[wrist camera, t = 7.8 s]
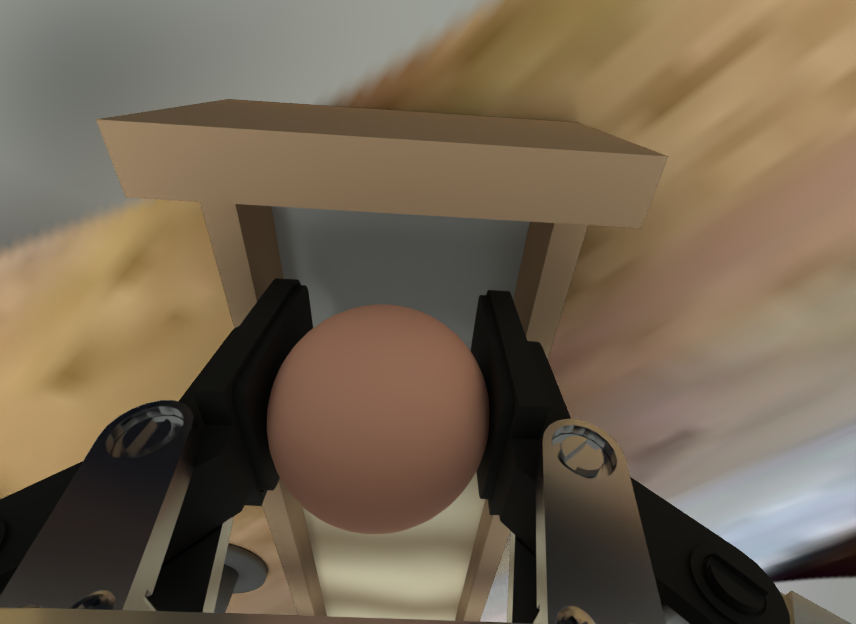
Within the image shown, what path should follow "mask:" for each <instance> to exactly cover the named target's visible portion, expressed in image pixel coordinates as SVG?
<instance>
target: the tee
mask: <svg viewBox="0 0 856 624" xmlns="http://www.w3.org/2000/svg"><path fill="white" fill-rule="evenodd" d="M267 571H268V570H267V566H266V564H265V563H264V562H263V561H262V560H261V559H260V558H259V557H258V556H256V555H255V554H253V553H251V552H249V551H247V550H245V549H242V548H240V547H237V546H233V545H229V544H228V547H227V552H226V557H225V562H224V566H223V571H222V576H221V581H220V585H219V590H218V595H217V600H216V604H215V609H214V613H225V611H226V609H227V606H228V604H229V601H230V598H231V596H232V594H233V593H244V592H249V591H252V590H255V589H257V588H259V587H260V586H262V585H263V583H264V581H265V579H266V576H267Z"/></svg>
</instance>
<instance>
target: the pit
mask: <svg viewBox="0 0 856 624" xmlns="http://www.w3.org/2000/svg"><path fill="white" fill-rule="evenodd" d="M96 121H97V123H98V126H99V129H100V131H101V134H102V137H103V139H104V142H105V145H106V147H107V150H108V152H109V155H110V158H111V160H112V163H113V166H114V168H115V171H116V173H117V176H118V179H119V181H120V183H121V187H122V189H123V192H124V194H125V197H127V198H144V199H161V200H178V201H194V202H200V204H201V208H202V211H203V215H204V219H205V222H206V226H207V230H208V233H209V237H210V241H211V244H212V248H213V252H214V255H215V259H216V263H217V266H218V270H219V274H220V277H221V281H222V285H223V288H224V292H225V296H226V299H227V303H228V307H229V310H230V314H231V317H232V321H233V325H234V328H236V327H238V326H239V325H240V324H241V323H242V321H243V320H244V319H245V317H246V316H247V315H248V313H249V312H250V311H251V309H252V308H253V307H254V305H255V304H256V303H257V301H258V300H259V299H260V297H261V296H262V295H263V293H264V292H265V291H266V289H267V288H268V287H269V285H270V284H271V283H272V281H273V280H274V279H275V278H280V279H298V280H299V281H300V283H301V285H306V286H307V288H308V292H309V300H310V307H311V315H312V322H313V328H314V327H316V326H317V325H319V324H320V323H321V322H323V321H324V320H326V319H328V318H330V317H332V316H334V315H336V314H338V313H341V312H344V311H346V310H349V309H352V308H356V307H360V306H366V305H375V304H388V305H397V306H403V307H408V308H412V309H415V310H418V311H421V312H423V313H425V314H428V315H430V316H432V317H434V318H435V319H437V320H438V321H440V322H442V323H443V324H444V325H446V326H447V327H448V328H450V329H451V330H452V331H453V332H454V333H456V334H457V335H458V337H459V338H460V339H461V340H462V341H463V342H464V343H465V345H466V346H467V347H468V348H469V350H471V344H472V337H473V331H474V324H475V318H476V311H477V305H478V299H479V296H480V295H486V294H487V291H488V290H499V291H510V293H511V295H512V298H513V301H514V304H515V307H516V310H517V313H518V315H519V318H520V321H521V324H522V327H523V330H524V332H525V335H526V338H527V341H538V342H539V343H541V345H542V347H543V349H544V352H545V354H546V357H547V360H548V356H549V353H550V350H551V346H552V343H553V340H554V336H555V333H556V330H557V326H558V323H559V320H560V317H561V313H562V310H563V307H564V303H565V300H566V297H567V293H568V290H569V287H570V283H571V280H572V277H573V273H574V270H575V267H576V263H577V260H578V257H579V254H580V250H581V247H582V244H583V240H584V237H585V234H586V230H587V227H588V225H596V226H612V227H629V228H641V227H642V224H643V221H644V219H645V216H646V214H647V211H648V208H649V206H650V203H651V201H652V198H653V195H654V193H655V190H656V187H657V185H658V182H659V180H660V177H661V174H662V172H663V169H664V167H665V164H666V161H667V159H668V156H666V155H663V154H660V153H657V152H655V151H652V150H649V149H647V148H644V147H641V146H639V145H636V144H633V143H631V142H628V141H625V140H623V139H620V138H617V137H615V136H612V135H609V134H607V133H604V132H601V131H599V130H596V129H593V128H591V127H588V126H585V125H583V124H580V123H577V122H563V121H548V120H533V119H518V118H503V117H488V116H473V115H458V114H443V113H428V112H413V111H398V110H383V109H368V108H353V107H338V106H323V105H308V104H293V103H278V102H262V101H248V100H233V99H226V100H219V101H214V102H206V103H200V104H193V105H188V106H180V107H174V108H167V109H161V110H154V111H148V112H141V113H135V114H129V115H122V116H115V117H109V118H102V119H97V120H96Z"/></svg>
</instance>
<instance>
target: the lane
mask: <svg viewBox="0 0 856 624" xmlns="http://www.w3.org/2000/svg"><path fill="white" fill-rule="evenodd" d="M262 506H263V509H264V512H265V515H266V518H267V521H268V524H269V527H270V530H271V533H272V536H273V539H274V542H275V545H276V548H277V552H278V555H279V558H280V561H281V564H282V567H283V570H284V573H285V576H286V579H287V582H288V585H289V588H290V591H291V594H292V598H293V601H294V604H295V607H296V610H297V613H298V615H299V616H330V617H361V618H391V619H421V620H448V621H475V622H479V621H480V618H481V615H482V613H483V610H484V607H485V604H486V601H487V598H488V595H489V592H490V589H491V586H492V583H493V580H494V578H495V575H496V572H497V569H498V566H499V563H500V560H501V557H502V554H503V551H504V548H505V545H506V542H507V540H508V537H509V534H510V530H509V529H508V528H507V527H506V526H505V525H504V524H503V523H502V522H501V521H500V517H499V515H490V514H489V506H488V499H480V497H479V491H478V482H477V473H475V475H474V476H473V478H472V480H471V481H470V483H469V484H468V485H467V487H466V488H465V490H464V491H463V492H462V493H461V495H460V496H459V497H458V498H457V499H456V500H455V501H454V502H453V503H452V504H451V505H450V506H448V507H447V508H446V509H445V510H443V511H442V512H441V513H439V514H438V515H436V516H435V517H433V518H432V519H430V520H428V521H427V522H425V523H422V524H420V525H417V526H415V527H412V528H410V529H407V530H404V531H400V532H395V533H389V534H362V533H355V532H350V531H346V530H343V529H339V528H337V527H334V526H331V525H329V524H327V523H325V522H324V521H322V520H320V519H319V518H317V517H316V516H314V515H313V514H311V513H310V512H308V511H307V510H306V509H305V508H304V507H302V506H301V505H300V504H299V503H298V501H297V500H296V499H295V498H294V497H293V496H292V495H291V494H290V492H289V491H288V490H287V488H286V486H285V485H284V483H283V481H282V480H281V478H280V479H279V481H278V484H277V486H276V488H275V489H274V490H273V491H271V490H268V491H267V493H266V496H265V498H264V501H263V503H262Z"/></svg>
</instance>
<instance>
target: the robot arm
mask: <svg viewBox="0 0 856 624" xmlns="http://www.w3.org/2000/svg"><path fill="white" fill-rule="evenodd" d="M312 329H313V322H312V315H311V307H310V300H309V292H308V288H307V286H306V285H301V283H300V281H299V280H298V279H280V278H275V279H274V280H273V281H272V283H271V284H270V285H269V287H268V288H267V289H266V291H265V292H264V293H263V295H262V296H261V297H260V299H259V300H258V301H257V303H256V304H255V305H254V307H253V308H252V309H251V311H250V312H249V313H248V315H247V316H246V317H245V319H244V320H243V321H242V323H241V324H240V325H239V326H238V327H236V328H235V329H234V330H232V332H231V333H230V334H229V336H228V337H227V338H226V340H225V341H224V342H223V344H222V345H221V346H220V347H219V349H218V350H217V351H216V353H215V354H214V355H213V357H212V358H211V359H210V361H209V362H208V363H207V365H206V366H205V367H204V369H203V370H202V371H201V373H200V374H199V375H198V376H197V378H196V379H195V380H194V382H193V383H192V384H191V386H190V387H189V388H188V390H187V391H186V392H185V394H184V395H183V396H182V398H181V399H180V400H179V402H178V401H174V400H161V401H156V402H151V403H147V404H144V405H141V406H138V407H136V408H133V409H131V410H129V411H128V412H126V413H124V414H122V415H120V416H119V417H118V418H116V419H115V420H114V421H113V422H111V423H110V424H109V425H108V426H107V427H106V428H105V429H104V430H103V431H102V433H101V434H100V435H99V436H98V438H97V439H96V441H95V443H94V444H93V446H92V448H91V449H90V451H89V452H88V454H87V456H86V457H85V459H84V461H82V462H80V463H78V464H76V465H74V466H71V467H69V468H67V469H65V470H63V471H61V472H59V473H56V474H54V475H52V476H50V477H48V478H46V479H43V480H41V481H39V482H37V483H35V484H33V485H31V486H28V487H26V488H24V489H22V490H20V491H18V492H15V493H13V494H11V495H9V496H7V497H5V498H3V499H0V624H851V623H849V622H847V621H846V620H844V619H842V618H840V617H838V616H836V615H835V614H833V613H831V612H829V611H827V610H826V609H824V608H822V607H820V606H819V605H817V604H815V603H813V602H812V601H810V600H808V599H806V598H804V597H802V596H801V595H799V594H797V593H795V592H794V591H790V592H789V593H788V594H786V595H785V594H783V593H781V592H779V590H778V589H777V587H776V586H775V584H774V583H773V581H772V580H771V578H770V577H769V576H768V575H767V574H766V573H765V572H764V571H763V570H762V569H761V568H760V567H759V565H758V564H757V563H755V562H754V561H753V560H752V559H750V558H749V557H748V556H747V555H745V554H744V553H743V552H742V551H740V550H739V549H737V548H736V547H734V546H733V545H731V544H730V543H728V542H727V541H725V540H724V539H722V538H721V537H719V536H718V535H716V534H715V533H713V532H712V531H710V530H709V529H707V528H706V527H704V526H703V525H701V524H700V523H698V522H697V521H695V520H694V519H692V518H691V517H689V516H688V515H686V514H685V513H683V512H682V511H680V510H679V509H677V508H676V507H674V506H673V505H671V504H670V503H668V502H667V501H666V500H664V499H663V498H661V497H660V496H658V495H657V494H655V493H654V492H652V491H651V490H649V489H648V488H646V487H645V486H643V485H642V484H640V483H639V482H637V481H636V480H634V479H633V478H631V477H630V474H629V470H628V466H627V462H626V459H625V456H624V454H623V452H622V449H621V448H620V446H619V445H618V444H617V443H616V441H615V440H614V439H613V438H612V437H611V436H610V435H608V434H607V433H606V432H605V431H604V430H602V429H600V428H598V427H596V426H595V425H593V424H591V423H588V422H585V421H581V420H576V419H571V417H570V415H569V412H568V410H567V407H566V405H565V402H564V400H563V397H562V395H561V392H560V390H559V387H558V385H557V382H556V380H555V377H554V375H553V372H552V370H551V367H550V365H549V362H548V360H547V357H546V354H545V352H544V349H543V347H542V345H541V343H539V342H538V341H527V338H526V335H525V332H524V330H523V327H522V324H521V321H520V318H519V315H518V313H517V310H516V307H515V304H514V301H513V298H512V295H511V293H510V291H499V290H488V291H487V294H486V295H480V296H479V299H478V305H477V311H476V318H475V324H474V331H473V337H472V344H471V350H470V351H471V353H472V354H473V356H474V357H475V359H476V361H477V363H478V365H479V368H480V370H481V372H482V374H483V377H484V380H485V384H486V388H487V392H488V396H489V407H490V419H489V434H488V440H487V444H486V448H485V451H484V454H483V458H482V460H481V462H480V464H479V467H478V469H477V471H476V473H477V482H478V491H479V497H480V499H488V506H489V514H490V515H499V517H500V521H501V522H502V523H503V524H504V525H505V526H506V527H507V528H508V529H509V530H510V531H511V541H510V563H509V585H508V607H507V623H501V622H475V621H448V620H421V619H391V618H361V617H330V616H299V615H268V614H236V613H214V609H215V604H216V600H217V595H218V590H219V585H220V581H221V576H222V571H223V566H224V562H225V557H226V552H227V547H228V543H229V538H230V533H231V528H232V523H233V516H235V515H236V514H238V513H239V512H241V511H242V509H243V507H244V505H254V506H262V503H263V501H264V498H265V496H266V493H267V491H268V490H271V491H273V490H274V489H275V488H276V486H277V484H278V481H279V479H280V476H279V475H278V473H277V471H276V468H275V465H274V462H273V459H272V457H271V454H270V449H269V443H268V437H267V407H268V402H269V397H270V393H271V389H272V386H273V383H274V381H275V378H276V376H277V373H278V371H279V369H280V367H281V365H282V363H283V362H284V360H285V359H286V357H287V356H288V354H289V353H290V351H291V350H292V349H293V347H294V346H295V345H296V344H297V343H298V342H299V341H300V340H301V339H302V338H303V337H304V336H305V335H306V334H307V333H308V332H309V331H310V330H312Z"/></svg>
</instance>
